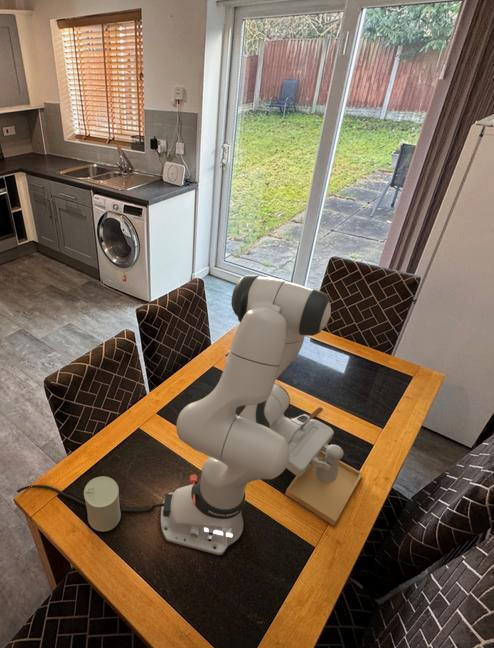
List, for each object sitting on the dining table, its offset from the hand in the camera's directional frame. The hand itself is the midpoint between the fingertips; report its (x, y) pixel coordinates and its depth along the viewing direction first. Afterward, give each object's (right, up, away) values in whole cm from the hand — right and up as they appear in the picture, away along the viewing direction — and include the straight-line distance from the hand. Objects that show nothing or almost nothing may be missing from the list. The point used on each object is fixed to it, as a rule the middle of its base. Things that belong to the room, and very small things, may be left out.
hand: (334, 463), depth 113 cm
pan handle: (+4, +8, +25) cm, 27 cm away
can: (-65, -14, -1) cm, 66 cm away
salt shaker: (-1, -6, +5) cm, 8 cm away
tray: (-1, -9, +6) cm, 10 cm away
